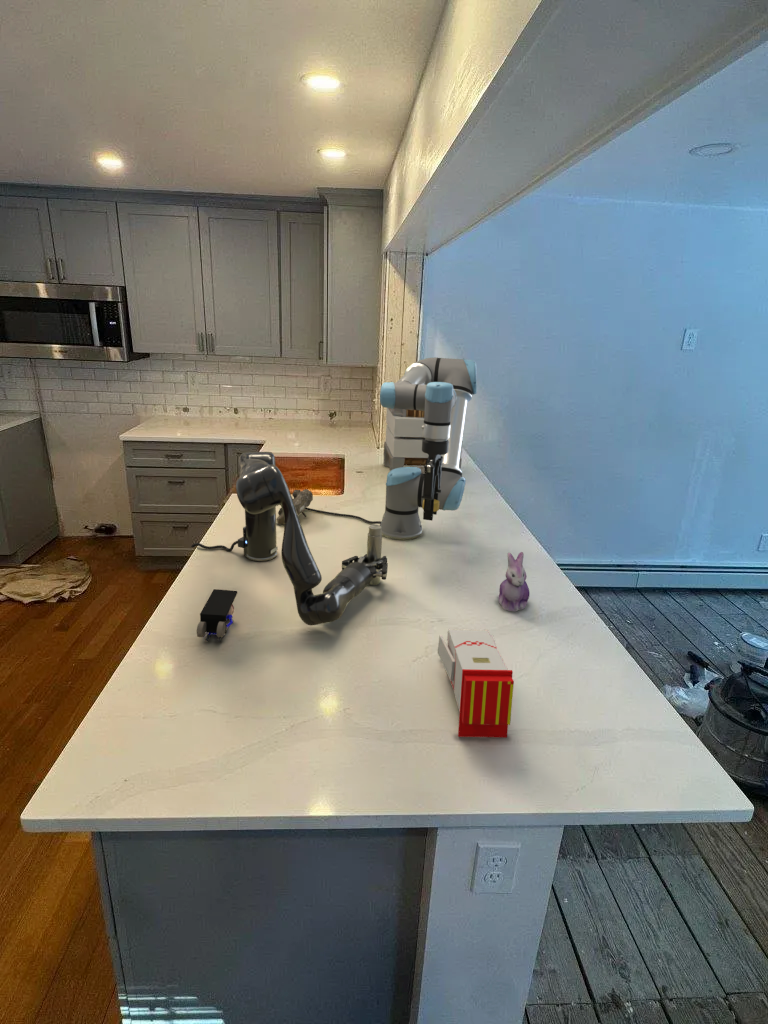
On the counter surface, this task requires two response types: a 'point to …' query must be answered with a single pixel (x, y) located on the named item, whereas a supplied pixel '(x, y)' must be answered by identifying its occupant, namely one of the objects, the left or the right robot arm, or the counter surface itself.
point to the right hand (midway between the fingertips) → (429, 516)
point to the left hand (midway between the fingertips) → (377, 557)
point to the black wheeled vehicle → (217, 614)
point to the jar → (374, 548)
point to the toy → (478, 682)
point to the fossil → (298, 503)
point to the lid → (436, 505)
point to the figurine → (514, 585)
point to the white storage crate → (405, 439)
